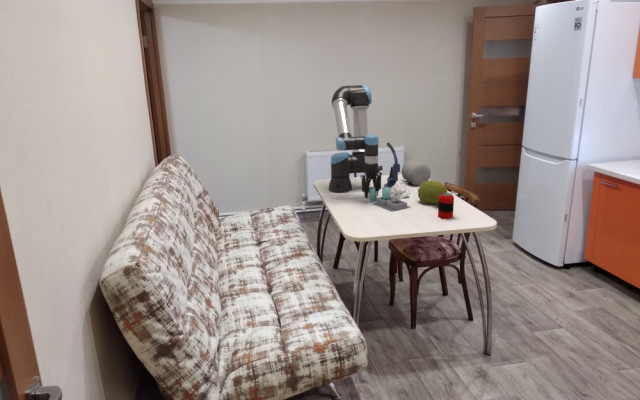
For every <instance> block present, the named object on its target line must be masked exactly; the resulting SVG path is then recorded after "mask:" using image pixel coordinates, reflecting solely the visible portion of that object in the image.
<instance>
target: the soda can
mask: <svg viewBox="0 0 640 400" xmlns="http://www.w3.org/2000/svg"><path fill="white" fill-rule="evenodd" d="M454 203H455V196H454V195H453V194H452V193H450V192H447V193H441V195H440V196H439V202H438V205H437V217H438V218H440V219H443V220H447V219H448V220H449V219H452V218H453V217H454V205H455V204H454Z"/></svg>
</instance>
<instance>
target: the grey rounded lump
mask: <svg viewBox="0 0 640 400" xmlns="http://www.w3.org/2000/svg"><path fill="white" fill-rule="evenodd" d="M431 175H432V173H431V168H430V166H428V165H427V164H426V163H423V162H421V161H419V160H416V159H409V160H407V161H406V162H405V163H404V164H403V165H402V168H401V176H402V178H403V179H404V180H405V181H407V182H408V183H410V184H412V185H414V186H416V187H417V186H418V187H420V185H421V184H422V183H423V182H426V181H430V177H431Z"/></svg>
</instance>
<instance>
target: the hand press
mask: <svg viewBox="0 0 640 400" xmlns="http://www.w3.org/2000/svg"><path fill="white" fill-rule="evenodd" d="M386 146H387V147H388V148H389V149H390V151H391V152H392V155H393V160H394V163H393V164H392V166H390V170H389V171H390V172H389V174H388V177H387V179H386V181H387V182H386V183H385V184H383V187H389V188H391V187H392V186H394V185H395V183H397V182H398V181H399V173H400V172H401V163H399V162H398V156H397V152H396V150H395V148H394V146H392V144H391V143H390V142H386Z"/></svg>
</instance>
